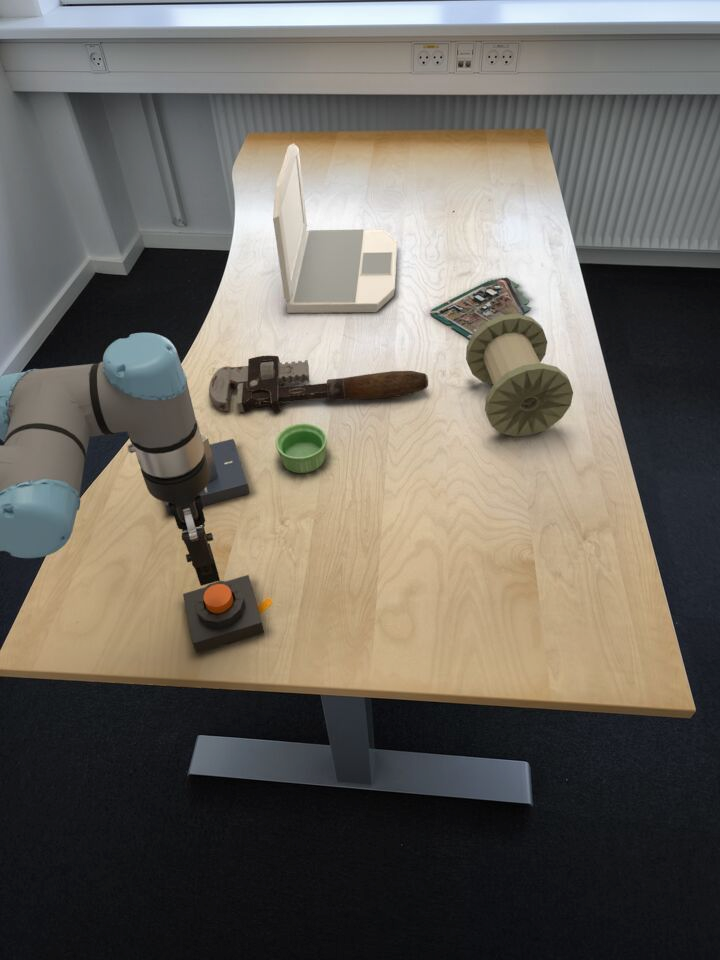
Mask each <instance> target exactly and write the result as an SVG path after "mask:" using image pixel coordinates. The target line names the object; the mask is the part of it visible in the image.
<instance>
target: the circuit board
mask: <svg viewBox="0 0 720 960" xmlns="http://www.w3.org/2000/svg"><path fill="white" fill-rule="evenodd" d="M518 286H519V284H518V283H517V282H515V281H513V280H511V279H510V278H509V277H506V276H505V277H501V278H495V279H491V280H487V281H485V282H483V283H481V284H480V285H477V286H475V287H473V288H471V289H469V290H466V291H464V292H463V293H461V294H459V295H457V296H455V297H453V298H451V299H449V300H447V301H445V302H444V303H441V304H439V305H437V306H436V307H434V308H431V310H429V315H431V316H432V317H434V318H435V319H438V320H439V321H441V322H442V323H444V324H446V325H448V326H449V325H450V328H452V329H454V330H455V331H457V332H458V333H460V334H461V335H463V336H465V337H466V338H468V339H469V340H470V339H471V337H472V335H473V334H474V333H475V332H476V331H477V330H478V329H479V328H480V327H481V326H482V325H483V324H484V323H486V322H488V321H490V320H492V319H494V318H496V317H499V316H501V315H508V314H521V315H525V313H526V312H528V311H530V310H531V309H532V307H530V306H528V305H527V304H529V301H530V299H529V298H527V297H526V296H525V295H523V292H522V291H520V290H519V289H517V287H518Z"/></svg>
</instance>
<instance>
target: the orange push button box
mask: <svg viewBox="0 0 720 960" xmlns="http://www.w3.org/2000/svg"><path fill="white" fill-rule="evenodd" d="M249 575H250V574H246V575H243V576H240V577H236V578H232V579H230V580H226V581H225V580H220V581H217V582H213V583H209V584H207V585H205V587H202V588H199V589H196V590H192V591H188V592H184V593H182V597H183V602H184V607H185V613H186V616H187V621H188V626H189V632H190V637H191V642H192V645H193V647H194V650H195V653H196V654H199V653H203V652H206V651H209V650H212V649H215V648H218V647H222V646H225V645H228V644H232V643H235V642H238V641H242V640H244V639H248V638H251V637H254V636H257V635H262V634H264V633H265V629H264V625H263V622H262V618H261V614H260V611H259V608H258V604H257V600H256V596H255V594H254V590H253V586H252V583H251V579H250V576H249ZM216 584H224V585H226V586H228V587H229V588H230V590H231V593H232V596H233V604H232V606H231V607H230V609H229V610H227V611H226V612H223V613H220V614H215V613H212V612H210V611H209V610H208V609H207V608H206V605H205V602H204V593H205V591H206V590H207V589H208V588H209V587H211V586H213V585H216Z"/></svg>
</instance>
